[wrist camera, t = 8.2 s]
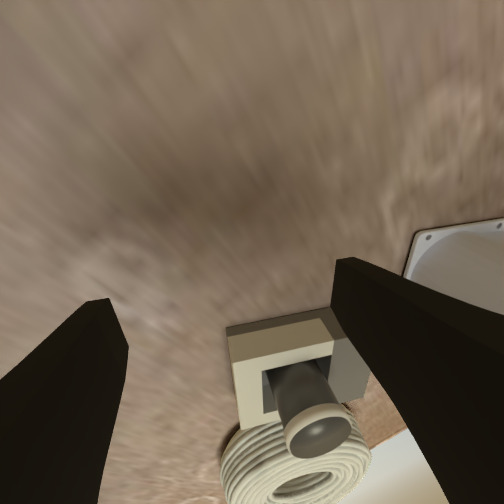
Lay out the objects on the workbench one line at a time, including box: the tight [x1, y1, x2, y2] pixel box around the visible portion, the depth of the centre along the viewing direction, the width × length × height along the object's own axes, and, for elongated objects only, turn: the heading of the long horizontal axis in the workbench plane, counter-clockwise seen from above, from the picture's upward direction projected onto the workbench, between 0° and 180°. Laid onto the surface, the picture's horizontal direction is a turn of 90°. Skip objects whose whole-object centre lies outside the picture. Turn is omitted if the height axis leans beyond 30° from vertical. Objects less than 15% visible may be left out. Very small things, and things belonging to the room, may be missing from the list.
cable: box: [220, 403, 372, 504], centre depth 31 cm, size 18×18×6 cm
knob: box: [265, 359, 352, 459], centre depth 21 cm, size 5×5×7 cm
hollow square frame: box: [226, 307, 371, 430], centre depth 23 cm, size 12×9×4 cm
